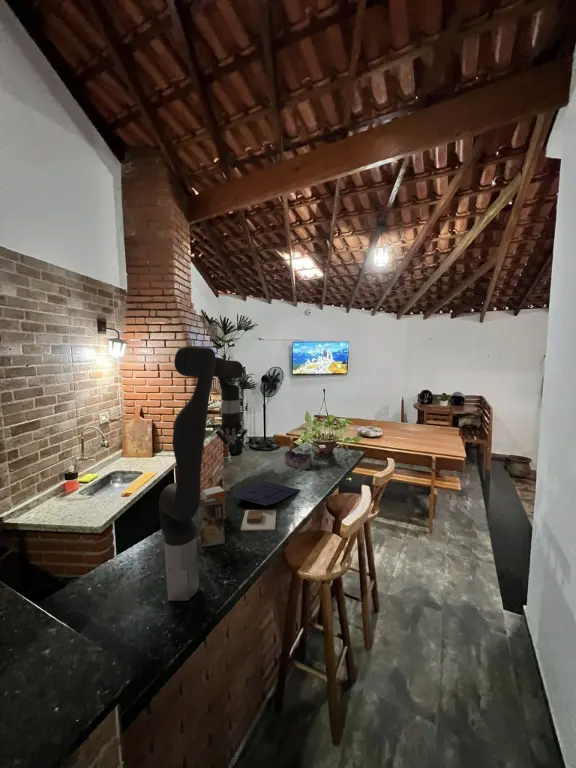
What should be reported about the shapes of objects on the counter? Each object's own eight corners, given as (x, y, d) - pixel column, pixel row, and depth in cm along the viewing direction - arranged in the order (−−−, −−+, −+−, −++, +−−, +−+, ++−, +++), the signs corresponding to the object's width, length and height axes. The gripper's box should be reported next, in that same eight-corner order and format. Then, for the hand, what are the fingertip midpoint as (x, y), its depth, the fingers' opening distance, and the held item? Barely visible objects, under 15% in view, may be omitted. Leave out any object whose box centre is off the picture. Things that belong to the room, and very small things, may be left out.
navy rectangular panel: (227, 500, 158) (227, 493, 158) (263, 485, 184) (263, 479, 184) (269, 513, 146) (269, 504, 146) (301, 495, 172) (301, 488, 172)
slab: (248, 510, 146) (246, 518, 139) (262, 510, 146) (261, 518, 139) (248, 514, 146) (246, 523, 139) (262, 514, 146) (261, 522, 139)
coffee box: (223, 534, 132) (222, 496, 130) (225, 543, 125) (223, 503, 124) (200, 538, 129) (198, 499, 127) (200, 547, 123) (198, 506, 121)
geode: (278, 466, 208) (279, 450, 208) (288, 463, 218) (288, 448, 218) (307, 470, 197) (307, 454, 198) (315, 467, 207) (316, 451, 208)
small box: (208, 524, 139) (206, 495, 138) (203, 518, 145) (201, 489, 143) (225, 518, 144) (224, 490, 142) (220, 513, 149) (219, 485, 148)
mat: (274, 530, 134) (274, 528, 134) (240, 530, 134) (240, 529, 134) (276, 511, 150) (276, 509, 150) (245, 511, 150) (245, 510, 150)
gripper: (248, 409, 136) (249, 449, 138) (216, 409, 136) (217, 450, 138) (246, 412, 128) (247, 455, 130) (212, 412, 128) (213, 455, 130)
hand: (232, 452), depth 134 cm, fingers closed
